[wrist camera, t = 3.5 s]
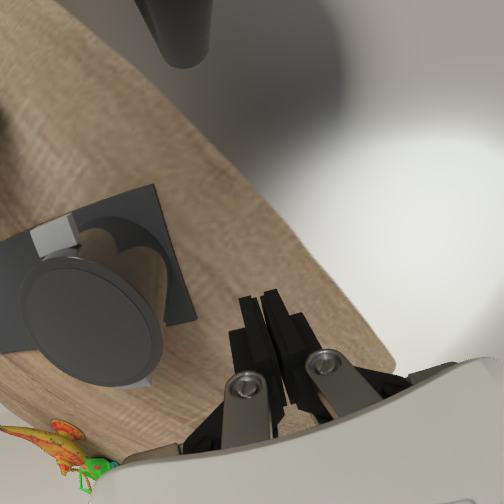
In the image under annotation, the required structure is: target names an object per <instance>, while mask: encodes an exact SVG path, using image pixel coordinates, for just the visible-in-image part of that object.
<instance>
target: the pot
mask: <svg viewBox="0 0 504 504" xmlns="http://www.w3.org/2000/svg"><path fill="white" fill-rule="evenodd" d="M30 234H31V237H32V239H33V242H34V245H35V247H36V250H37V252H38V255H39V257H40V258H41V257H44V256H45V257H44V258H43V259H42V260H40V261H39V262H38V263H37V264H36V265H35V266H34V267H33V268H32V269H31V270H30V271H29V273H28V274H27V276H26V277H25V279H24V282H23V284H22V287H21V292H20V311H21V316H22V320H23V323H24V326H25V328H26V330H27V332H28V334H29V336H30V338H31V340H32V341H33V343H34V344H35V345H36V347H37V348H38V349H39V351H40V352H41V353H42V354H43V355H44V356H45V357H46V358H47V359H48V360H49V361H50V362H51V363H52V364H54V365H55V366H56V367H57V368H59V369H60V370H62V371H63V372H65V373H67V374H68V375H70V376H72V377H74V378H76V379H78V380H81V381H84V382H86V383H90V384H93V385H98V386H104V387H115V388H116V390H122V389H131V388H139V387H147V386H151V382H152V378H151V377H150V375H149V374H150V373H152V372H153V370H154V369H155V368H156V366H157V365H158V363H159V361H160V358H161V355H162V350H163V343H164V335H165V328H166V321H167V314H168V307H169V301H170V295H171V289H172V269H171V265H170V261H169V259H168V256H167V254H166V252H165V250H164V248H163V247H162V245H161V244H160V243H159V241H158V240H157V239H156V238H155V237H154V236H153V235H152V234H151V233H150V232H149V231H148V230H146V229H145V228H144V227H142V226H140V225H139V224H137V223H135V222H133V221H131V220H128V219H125V218H120V217H115V216H105V217H98V218H94V219H91V220H89V221H87V222H85V223H83V224H82V225H80V226H79V227H78V228H77V226H76V223H75V220H74V217H73V214H72V213H69V214H66V215H64V216H61V217H59V218H56V219H54V220H51V221H49V222H47V223H44V224H42V225H40V226H37V227H35V228H34V229H32V230H31V231H30Z"/></svg>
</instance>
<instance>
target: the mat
mask: <svg viewBox="0 0 504 504" xmlns="http://www.w3.org/2000/svg"><path fill="white" fill-rule="evenodd" d="M69 213H72V214H73V217H74V220H75V223H76V226H77V228H78V227H79V226H80V225H82V224H83V223H85V222H87V221H89V220H91V219H94V218H98V217H105V216H115V217H120V218H125V219H128V220H131V221H133V222H135V223H137V224H139V225H140V226H142V227H144V228H145V229H146V230H148V231H149V232H150V233H151V234H152V235H153V236H154V237H155V238H156V239H157V240H158V241H159V243H160V244H161V245H162V247H163V248H164V250H165V252H166V254H167V256H168V259H169V261H170V265H171V269H172V289H171V295H170V301H169V307H168V314H167V321H166V327H168V326H172V325H177V324H181V323H186V322H190V321H195V320H197V315H196V313H195V310H194V307H193V305H192V302H191V299H190V297H189V294H188V291H187V288H186V285H185V283H184V280H183V277H182V274H181V271H180V268H179V265H178V262H177V259H176V256H175V253H174V250H173V247H172V244H171V241H170V238H169V234H168V231H167V228H166V225H165V221H164V218H163V215H162V211H161V208H160V204H159V201H158V197H157V194H156V190H155V187H154V184H150V185H147V186H144V187H141V188H137V189H134V190H131V191H128V192H125V193H122V194H119V195H116V196H113V197H110V198H107V199H104V200H101V201H99V202H96V203H93V204H90V205H88V206H85V207H82V208H79V209H77V210H74V211H72V212H69ZM69 213H67V214H69ZM64 215H66V214H64ZM64 215H62V216H64ZM59 217H61V216H59ZM59 217H57V218H59ZM54 219H56V218H54ZM54 219H52V220H54ZM49 221H51V220H49ZM49 221H47V222H49ZM47 222H45V223H47ZM42 224H44V223H42ZM42 224H40V225H42ZM40 225H38V226H40ZM35 227H37V226H35ZM35 227H33V228H31V229H28V230H26V231H24V232H22V233H20V234H18V235H15V236H13V237H11V238H9V239H7V240H5V241H3V242H1V243H0V353H7V352H16V351H25V350H33V349H38V348H37V347H36V345H35V344H34V343H33V341H32V340H31V338H30V336H29V334H28V332H27V330H26V328H25V326H24V323H23V320H22V316H21V311H20V292H21V287H22V284H23V282H24V279H25V277H26V276H27V274H28V273H29V271H30V270H31V269H32V268H33V267H34V266H35V265H36V264H37V263H38V262H39V261H40V260H42V259H43V258H44V257H45V256H44V257H41V258H40V257H39V255H38V252H37V250H36V247H35V245H34V242H33V239H32V237H31V234H30V231H31V230H32V229H34V228H35Z"/></svg>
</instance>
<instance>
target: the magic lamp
mask: <svg viewBox="0 0 504 504" xmlns="http://www.w3.org/2000/svg"><path fill="white" fill-rule="evenodd" d="M51 425H52V427H53V428H54V429H55V430H56V431H57V433H58V434H55V433H51V432H47V431H42V430H38V429H34V428H28V427H13V426H1V425H0V430H1V431H3V432H5V433H8V434H10V435H14V436H18V437H21V438H24V439H26V440H28V441H30V442H32V443H34V444H36V445H37V446H38V447H40V448H41V449H43V450H44V451H45V452H47V453H48V454H49V455H51V456H53V457H54V458H56V461H57V464H58V465H59V467H60V469H61V474H62V475H64V476H66V473H67V472H69V471H72V470H73V471H74V470H75V471H76V470H77V471H78V472H80V473H82V474H83V476H84V477H85V478H86V481H87V483H88V485H89V486H88V487H89V490H90V495H91V492H92V489H91V486H90V482H89V480H88V478H87V476H86V475H85V474H84V473H83V471H81V470H78V469H74V468H73V469H71V468H72V466H73V465H75V466H82V465H84V467H85V468H86V469H87V470H88V471H89V472H90V473H91V475H92V476H93V477H94V478H95V479H96V480H97V479H98V478H97V477H96V476H95V475H94V474H93V473H92V472H91V471H90V470H89V468H88V467H87V466H86V464H85V462H86V458H87V457H88V456H86V457H85V454H84V452H83V451H82V449H81V448H80V447H79V446H78V445H77V444H76V443H74V442H73V440H82V439H83V434H82V433H81V432H80V431H79V430H78V429H77V428H75V427H74V426H72V425H70V424H68V423H66V422H63V421H59V420H54V421H52V422H51ZM88 458H90V457H88ZM90 459H91V458H90ZM91 460H92V459H91ZM92 463H93V460H92ZM92 463H91V464H92ZM69 469H70V470H69ZM73 471H72V472H73ZM88 504H89V503H88Z"/></svg>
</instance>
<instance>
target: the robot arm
mask: <svg viewBox="0 0 504 504" xmlns="http://www.w3.org/2000/svg"><path fill="white" fill-rule="evenodd" d="M260 299H261V304H262V308H263V313H264V317H265V321H264V318H263V315H262V312H261V309H260V307H259V304H258V301H257V298H251V295H250V296H246V297H242V298H239V303H240V307H241V311H242V316H243V320H244V324H245V328H241V329H237V330H233V331H229V339H230V346H231V352H232V358H233V364H234V370H235V375H233V376H232V377H231V378H230V379H229V380H228V381H227V383H226V386H225V393H224V401H223V402H222V403H221V404H220V405H219V406H218V407H217V408H216V409H215V410H214V411H213V412H212V413H211V414H210V415H209V417H208V418H207V419H206V420H205V421H204V422H203V423H202V424H201V425H200V426H199V427H198V428H197V429H196V430H195V431H194V432H193V433H192V434H191V435H190V436H189V437H188V438H187V439H186V440H185V442H184V443H182V444H177V443H173V444H170V445H166V446H163V447H159V448H156V449H152V450H148V451H144V452H140V453H136V454H133V455H130V456H128V457H127V458H126V459H125V460H124V461H123V463H122V465H121V466H118V467H116V468H113V469H111V470H109V471H107V472H105V473H104V474H102V475H101V476H100V477H99V478H98V479H97V481H96V482H95V485H94V486H93V489H92V492H91V496H90V499H89V504H504V363H503V362H502V361H500V360H498V359H495V358H492V357H480V358H475V359H470V360H466V361H463V362H460V363H456V362H448V363H444V364H441V365H438V366H435V367H432V368H429V369H425V370H422V371H419V372H415V373H412V374H409V375H408V377H407V378H403V377H401V376H397V375H393V374H388V373H383V372H378V371H373V370H369V369H364V368H360V367H355V366H353V365H352V364H351V363H350V362H349V361H348V360H347V359H346V357H345V356H344V355H343V354H342V353H340V352H339V351H337V350H334V349H322V347H321V345H320V343H319V342H318V340H317V338H316V336H315V334H314V333H313V331H312V329H311V327H310V326H309V324H308V322H307V320H306V318H305V317H304V315H303V313H302V312H300V313H297V314H293V315H290V316H289V313H288V311H287V309H286V307H285V305H284V303H283V301H282V299H281V297H280V295H279V293H278V291H277V289H273V290H269V291H265V292H264V295H263V296H260ZM265 322H266V324H265ZM266 326H267V327H266ZM281 377H282V378H281ZM282 380H283V383H284V385H285V388H286V391H287V394H288V397H289V400H290V403H291V405H292V404H295V403H296V405H297V407H298V410H300V409H301V410H302V411H305V412H308V413H310V415H311V418H312V420H313V421H314V423H315V424H316V426H315V427H312V428H309V429H306V430H303V431H299V432H296V433H293V434H289V435H285V436H282V437H280V433H279V426H278V423H279V422H280V421H281V419H282V418H283V417H284V415H285V413H284V409H283V407H285V406H287V402H286V398H285V393H284V388H283V383H282Z"/></svg>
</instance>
